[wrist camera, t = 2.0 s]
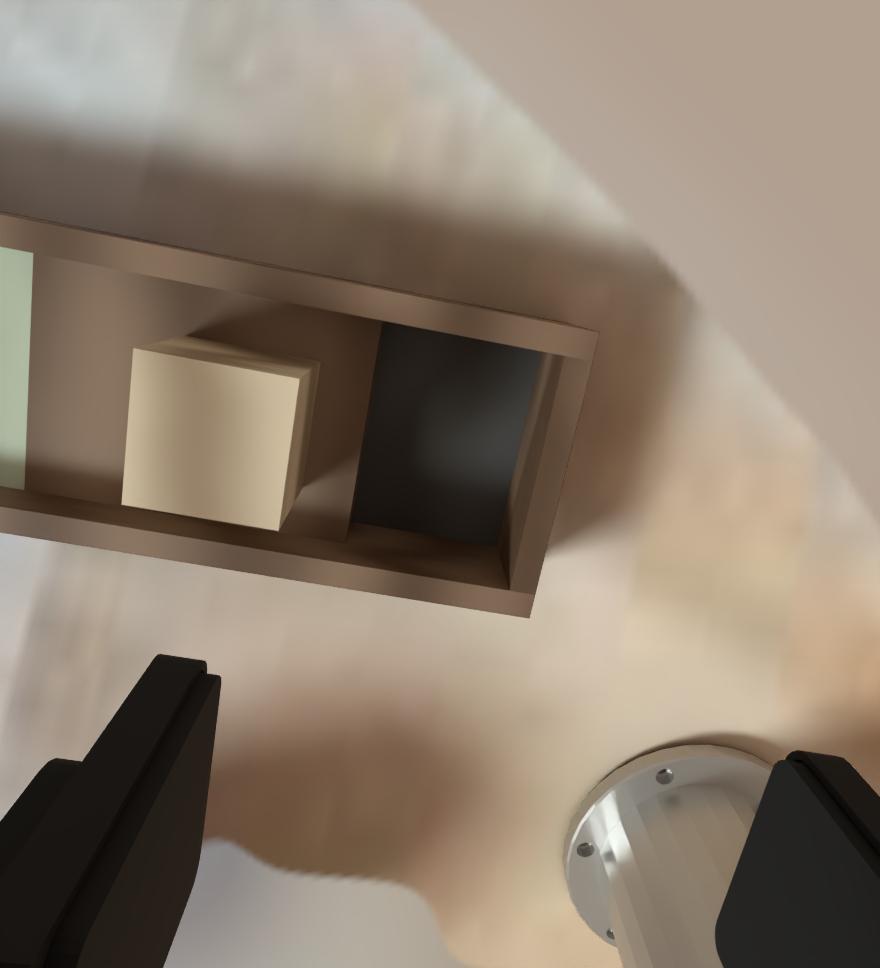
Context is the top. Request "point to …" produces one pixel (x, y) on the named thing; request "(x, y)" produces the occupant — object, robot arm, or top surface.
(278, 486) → the maple block
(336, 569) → the tray
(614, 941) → the robot arm
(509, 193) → the top surface
